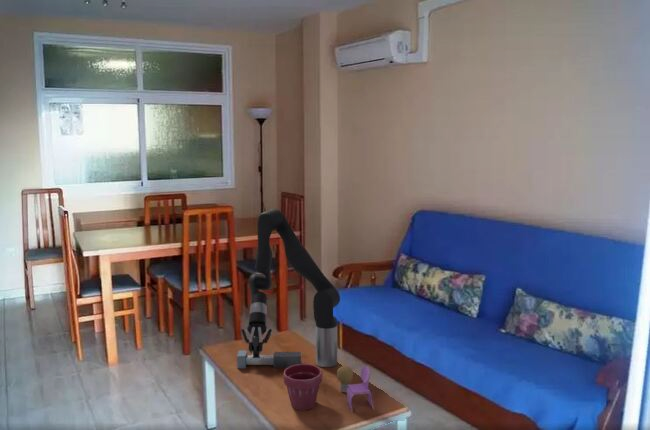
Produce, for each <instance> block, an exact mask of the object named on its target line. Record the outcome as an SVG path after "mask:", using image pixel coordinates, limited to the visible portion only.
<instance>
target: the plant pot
mask: <svg viewBox="0 0 650 430" xmlns="http://www.w3.org/2000/svg"><path fill="white" fill-rule="evenodd" d="M322 382H323V372H322V369H321V368H320V366H318V365H314V364H310V363H301V364H297V365H293V366H290V367H288V368H285V369H284V371H283V383H284V385H285V387H286V388H287V394H288V398H289V402H290V406H291V407H292V408H294V409H296V410H303V411H304V410H305V411H306V410H309V409H313V408H314V407H315V406H316V403H317V399H318V395H319V388H320V385H321V384H322Z"/></svg>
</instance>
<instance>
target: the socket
mask: <svg viewBox="0 0 650 430" xmlns="http://www.w3.org/2000/svg"><path fill="white" fill-rule="evenodd" d="M246 355H248V350H244V349H243V350H241V349H240V350H238V352H237V355H236V362H237V363H236V366H237V367H236V369H246V368H247V365H246Z"/></svg>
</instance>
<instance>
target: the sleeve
mask: <svg viewBox="0 0 650 430" xmlns="http://www.w3.org/2000/svg"><path fill="white" fill-rule="evenodd" d="M273 355H274V356H273V361H274V364H273V368H275V369H277V368H278V369H279V368H280V369H281V368H283V369H284V368H285V369H286V368H288V367H290V366H293V365H297V364H302V351H274V352H273Z"/></svg>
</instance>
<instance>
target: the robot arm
mask: <svg viewBox="0 0 650 430" xmlns="http://www.w3.org/2000/svg"><path fill="white" fill-rule="evenodd" d="M274 231H275V232H277V233H278V235H279V236H280V238H281V240H282V242H283V247H284V255H285V257H286V260H287V261H288V263H289V264H290V266H291V267H292V268H293V270H294V272H296V273H297V274H298V275H299V276H301V277H302V278H304V279H305V280H307V281H308V282H309V283H310V284H311V285H312V286H313V287H314V288H315V290H316V291H317V292H316V293H315V294H314V295H313V301H312V303H313V304H312V305H313V306H312V307H313V319H314V321H315V364H316V366H317V367H323V368H331V367H335V366H338V319H337V317H335V316H334V308H335V307H337V306H338V305H339V304H340V302H341V296H340V293H339V291H338V289H337V288H336V287H335V286H334V284H332V283H331V281H330V280H329V279H328V278H327V277H326V276H325V274H324V273H323V271H321V269H320V267H319V266H318V264H316V262H315V261H314V259H313V258H312V256H311V255H310V253H309V252H308V250H307V249H306V248H305V246H304V245H303V243H302V242H301V241H300V240H299V238H298V237H297V235H296V233H295V232H294V230H293V228H292V227H291V224H290V223H289V222H288V219H287V218H286V216H285V215H284V213H283V212H282V211H281V210H280V209H278V208H273V209H269V210H266V211H264V212H261V213H260V214H259V215H258V218H257V250H256V251H257V253H256V258H255V266H254V269H255V270H254V271H256V272H257V273H254V274H253V273H252V274H250V275H249V278H248V285H249V290H250V296H251V297H250V298H251V299H250V308H249V317H248V325H247V328H245V329H244V328H241V333H242V334H241V335H242V336H243V339H244V342H245V344H248V352H250V353H251V354H252V336H254V335H258V336H259V354H260V353H261V352H262V351H263V347H264V344H267V343H268V341H269V339H270V338H271V336H272V333H273V330H272V328H267V314H268V312H267V310H268V309H267V302H268V295H267V294H266V293H265V292H263V291H269V290H270V289H271V288H272V285H273V282H272V276H271V275H272V273H271V268H272V261H273V251H272V248H271V245H270V239H271V235H272V233H273V232H274ZM258 273H259V274H258ZM265 333H266V335H265V337H264V339H263V335H264V334H265ZM247 334H249V335H250V336H249V338H248V336H247Z"/></svg>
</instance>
